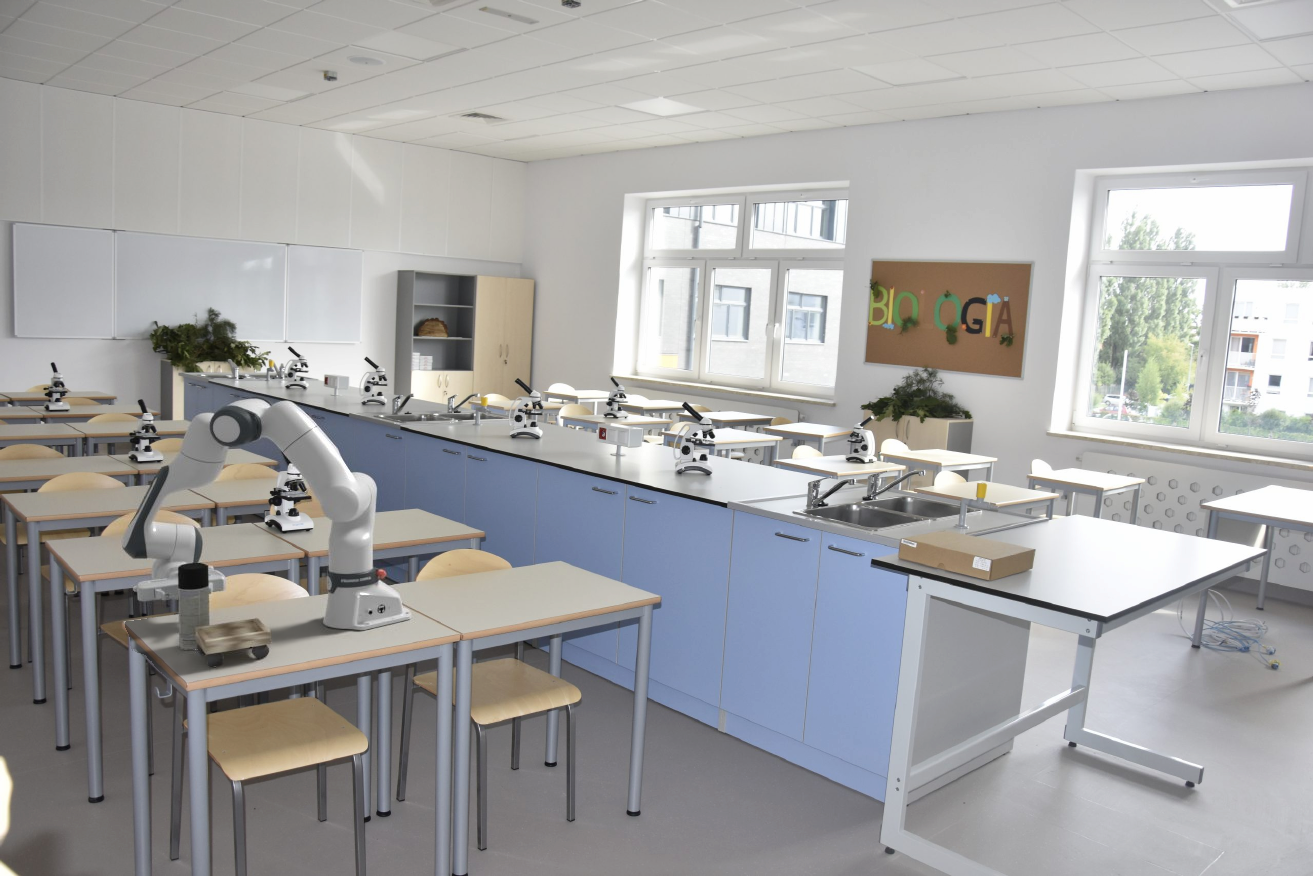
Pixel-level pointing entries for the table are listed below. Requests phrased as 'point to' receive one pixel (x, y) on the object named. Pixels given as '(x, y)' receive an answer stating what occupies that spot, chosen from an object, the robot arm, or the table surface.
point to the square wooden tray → (232, 639)
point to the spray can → (192, 602)
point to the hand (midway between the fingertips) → (187, 594)
